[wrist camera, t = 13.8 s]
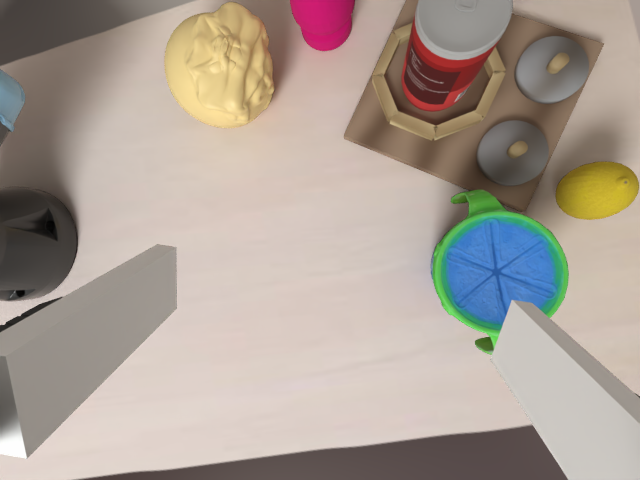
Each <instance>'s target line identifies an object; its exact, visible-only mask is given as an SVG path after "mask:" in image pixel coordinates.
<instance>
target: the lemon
mask: <svg viewBox="0 0 640 480" xmlns="http://www.w3.org/2000/svg"><path fill="white" fill-rule="evenodd" d="M638 190H639V182H638V179H637V176H636V175H635V174H634V172H633V171H632V170H631V169H629V168H628V167H626V166H624V165H622V164H619V163H615V162H594V163H590V164H585V165H582V166H580V167H578V168H576V169H574V170H572V171H570V172H569V173H568V174H567V175H565V176H564V177H563V178H562V179H561V181H560V182H559V184H558V186H557V189H556V196H555V197H556V202H557V204H558V205H559V207H560V208H561V209H562V210H563V211H564V212H565V213H566V214H568V215H570V216H572V217H575V218H579V219H587V220H592V219H601V218H605V217H608V216H611V215H614V214H617V213H618V212H620V211H622V210H623V209H625V208H626V207H628V206H629V205H630V204H631V203H632V202H633V201H634V199H635V198H636V196H637V194H638Z"/></svg>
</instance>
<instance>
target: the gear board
mask: <svg viewBox="0 0 640 480" xmlns="http://www.w3.org/2000/svg"><path fill="white" fill-rule="evenodd" d="M418 1H419V0H406V2H405V4H404V6H403V9H402V11H401V13H400V15H399V17H398V19H397V21H396V24H395V26H394V28H393V30H392V32H391V34H390V37H389V39H388V41H387V43H386V45H385V47H384V50H383V52H382V54H381V56H380V58H379V60H378V63H377V65H376V67H375V69H374V71H373V73H372V76H371V78H370V80H369V82H368V84H367V86H366V88H365V91H364V93H363V95H362V97H361V99H360V101H359V104H358V106H357V108H356V110H355V112H354V114H353V117H352V119H351V121H350V123H349V125H348V127H347V130H346V132H345V134H344V139H346V140H349V141H351V142H354V143H356V144H359V145H361V146H363V147H366V148H368V149H371V150H373V151H376V152H378V153H380V154H383V155H385V156H388V157H390V158H393V159H395V160H397V161H400V162H402V163H405V164H407V165H410V166H412V167H414V168H417V169H419V170H422V171H424V172H426V173H429V174H431V175H434V176H436V177H439V178H441V179H443V180H446V181H448V182H451V183H453V184H456V185H458V186H460V187H463V188H465V189H468V190H470V191H474V190H484V191H487V192H489V193H490V194H491V195H492V196H494V197H496V199H497V200H498V201H499V202H500V203H502V204H504V205H506V206H509V207H511V208H514V209H516V210H519V211H525V210H526V208H527V206H528V204H529V202H530V200H531V198H532V196H533V194H534V192H535V189H536V187H537V185H538V183H539V181H540V179H541V177H542V175H543V172H544V170H545V168H546V166H547V164H548V162H549V160H550V158H551V156H552V153H553V151H554V149H555V147H556V145H557V143H558V141H559V139H560V136H561V134H562V132H563V130H564V128H565V126H566V124H567V122H568V120H569V117H570V115H571V113H572V111H573V109H574V107H575V105H576V103H577V100H578V98H579V96H580V94H581V92H582V90H583V88H584V86H585V84H586V81H587V79H588V77H589V75H590V73H591V71H592V69H593V67H594V64H595V62H596V60H597V58H598V56H599V54H600V52H601V50H602V47H603V45H604V43H600V42H597V41H594V40H591V39H588V38H585V37H582V36H579V35H576V34H573V33H570V32H567V31H564V30H561V29H558V28H555V27H552V26H549V25H546V24H542V23H539V22H536V21H533V20H530V19H527V18H524V17H521V16H518V15H515V14H511V18H510V21H509V23H508V26H507V27H506V30H505V32H504V33H503V35H502V37H501V38H500V40H499V42H498V43H497V45H496V46H495V48H494V50H493V51H492V53H491V54H490V56H489V57H488V59H487V60H486V62H485V63H484V65H483V67H482V68H481V70H480V71H479V73H478V74H477V76H476V77H475V79H474V80H473V82H472V83H471V85H470V87H469V88H468V90H467V91H466V93H465V94H464V96H463V97H462V98H461V99H460V100H459V101H458V102H457V103H455V104H454V105H452V106H450V107H448V108H446V109H444V110H441V111H435V112H429V111H424V110H421V109H418V108H417V107H415V106H414V105H412V104H411V103H410V102H409V100H408V99H407V98H406V95H405V93H404V91H403V87H402V82H401V76H402V70H403V66H404V61H405V56H406V51H407V47H408V42H409V37H410V33H411V28H412V23H413V18H414V14H415V10H416V6H417V3H418Z"/></svg>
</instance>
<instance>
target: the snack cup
mask: <svg viewBox="0 0 640 480" xmlns="http://www.w3.org/2000/svg"><path fill="white" fill-rule="evenodd" d="M451 202H452V203H453V204H457V203H466V202H468V203H469V213H468V216H467V217H466V218H465V219H464V220H462V221H461V222H459V223H458V224H456V225H455V226H454V227H453V228H451V229H450V230H449V231H448V232H447V234H446V235H445V236H444V237H443V239H442V240H441V242H439V243H438V244H437V246H436V248H435V251H434V254H433V256H432V259H431V275H432V279H433V282H434V286H435V289H436V292H437V294H438V296H439V298H440V300H441V303H442V306H443V307H444V309H445V310H446V311H447V312H448V314H449V315H453V316H454V317H456V318H457V319H458V320H459V321H461V322H462V323H464V324H465V325H467V326H469V327H471V328H473V329H475V330H478V331H481V332H484V333H487V334H488V335H489V336H490V337H485V338H480V339H478V340H476V341H475V345H476V347H477V348H478V349H480V350H482V351H483V352H485V353H487V354H491V355H492V353H493V351H494V348H495V345H496V342H497V340H498V337H499V334H500V331H501V328H502V326H503V323H504V320H505V317H506V315H507V312H508V309H509V306H510V304H511V301H512V300H517V301H523V302H530V303H533V304H534V305H535V306H536V307H537V308H539V309H540V310H541V311H542V312H543V313H544V314H545V315H546V316H548V317H549V318H550V317H552V315H553V314H554V313H555V312H556V311H557V309H558V308H559V306H560V305H561V303H562V301H563V300H564V298H565V294H566V290H567V286H568V276H569V273H568V264H567V261H566V257H565V254H564V252H563V250H562V248H561V246H560V244H559V243H558V241H557V239H556V238H555V237H554V235H553V234H552V232H551V231H549V230H548V229H547V228H545V227H544V226H543V225H542V224H540V223H539V222H537V221H535V220H534V219H532V218H530V217H528V216H525V215H522V214H519V213H515V212H510V211H507V210H506V209H505V208H504V207H503V206H502V205H501V204H500V202H499V201H498V200H497V199H496V197H494V196H492V195H491V194H490V193H489V192H487V191H484V190H474V191H469V192H462V193H459V194H457V195H455V196H453V197H452V199H451Z"/></svg>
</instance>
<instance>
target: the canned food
mask: <svg viewBox="0 0 640 480" xmlns="http://www.w3.org/2000/svg"><path fill="white" fill-rule="evenodd" d="M512 9H513V1H512V0H419V1H418V3H417V6H416V10H415V14H414V18H413V23H412V28H411V33H410V37H409V42H408V47H407V51H406V56H405V61H404V66H403V70H402V76H401V82H402V87H403V91H404V93H405V95H406V98H407V99H408V100H409V102H410V103H411V104H412V105H414V106H415V107H417V108H418V109H421V110H424V111H429V112H435V111H441V110H444V109H446V108H448V107H450V106H452V105H454V104H455V103H457V102H458V101H459V100H460V99H461V98H462V97H463V96H464V94H465V93H466V91H467V90H468V88H469V87H470V85H471V83H472V82H473V80H474V79H475V77H476V76H477V74H478V73H479V71H480V70H481V68H482V67H483V65H484V63H485V62H486V60H487V59H488V57H489V56H490V54H491V53H492V51H493V50H494V48H495V46H496V45H497V43H498V42H499V40H500V38H501V37H502V35H503V33H504V32H505V30H506V27H507V26H508V23H509V21H510V18H511V14H512Z"/></svg>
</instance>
